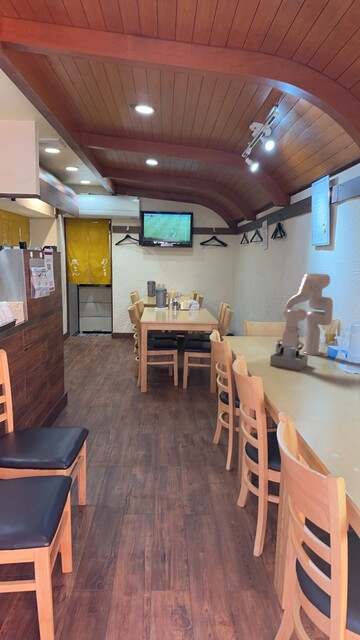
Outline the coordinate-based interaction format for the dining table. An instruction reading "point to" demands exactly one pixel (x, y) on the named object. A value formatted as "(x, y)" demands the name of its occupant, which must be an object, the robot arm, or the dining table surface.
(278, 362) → the tote
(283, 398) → the dining table surface
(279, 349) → the light bulb box
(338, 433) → the dining table surface
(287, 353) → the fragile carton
